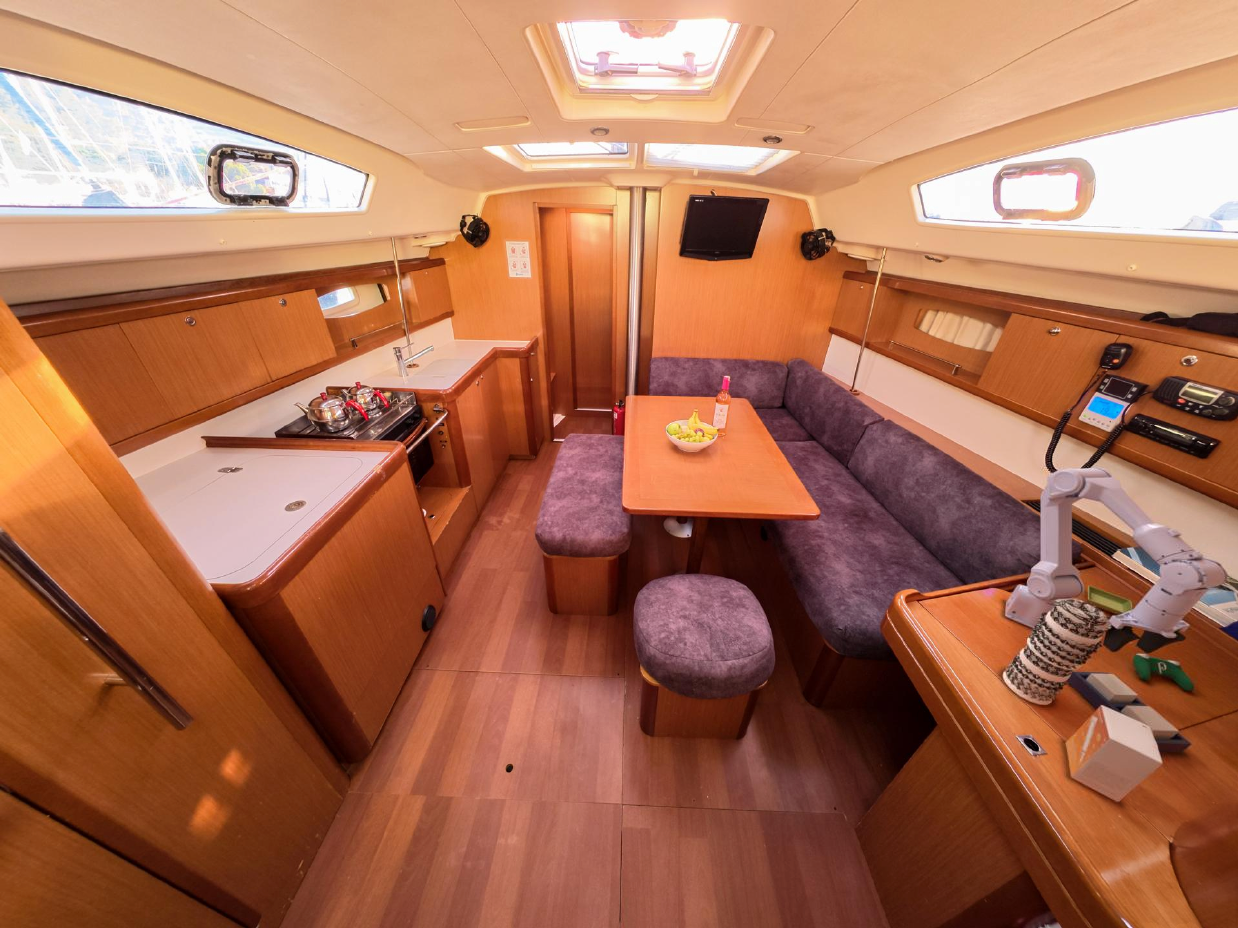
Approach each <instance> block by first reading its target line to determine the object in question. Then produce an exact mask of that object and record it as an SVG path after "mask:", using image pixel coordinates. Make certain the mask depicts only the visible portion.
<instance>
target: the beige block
mask: <svg viewBox="0 0 1238 928" xmlns="http://www.w3.org/2000/svg"><path fill="white" fill-rule="evenodd" d="M1121 713H1123V714H1124V715H1126V716H1128V717H1130V718H1132V719H1135V720H1137V721H1139V722H1141V723H1143V724H1145V725H1147V726H1150V728H1151V731H1152V733H1153V736H1154V739H1171V738H1172V737H1173V736H1174V735H1175V734H1177V733H1180V730H1179V729H1177V727H1175V726H1174V725H1173V724H1172V723H1171V722H1170V721H1168V720H1167V719H1166V718H1165V717H1164V716H1162V715H1161V714H1160V713H1159V712H1158V711H1156V710H1155V709H1154V708H1153V707H1151V706H1149V705H1147V706H1126V707H1125V708H1124V709H1123V710H1122V711H1121Z"/></svg>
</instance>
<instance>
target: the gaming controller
mask: <svg viewBox="0 0 1238 928" xmlns="http://www.w3.org/2000/svg"><path fill="white" fill-rule="evenodd" d="M1132 663H1133V667H1134V669H1135V671H1136V673H1137V674H1138V676H1139V677H1140V679H1141V680H1143V681H1149V680H1150V678H1151V674H1153V675H1154V674H1155V675H1158V676H1162V677H1166V678H1171V679H1172V680H1174V682H1175V683H1176V684H1178V686H1180V688H1182V689H1183V690H1185V691H1190V692H1193V691H1194V690H1195V685H1194V682H1193V681H1192V680H1191V678H1190V677H1189V675H1188V674H1187V673H1186V672H1185V670H1183V668H1182V666H1181V665H1180V664H1181V662H1179V661H1176V660H1170V659H1169V660H1166V659H1163V658H1159V657H1155V656H1152V655H1151V656H1150V655H1149V654H1146V653H1136V654H1134V656H1133V658H1132Z"/></svg>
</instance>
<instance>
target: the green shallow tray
mask: <svg viewBox="0 0 1238 928" xmlns="http://www.w3.org/2000/svg"><path fill="white" fill-rule="evenodd" d="M1087 601H1088V603H1090V604H1092V605H1094V606H1095V607H1097V608H1098V609H1100V610H1104V611H1106V612H1109V613H1111V614H1114V615H1116V616H1118V615H1121V614H1123V613H1126V612H1128V611H1131V610H1133V609H1134V608H1133V602H1132V600H1131V599H1127V598H1125V597H1122V596H1120V595H1117V594H1114V593H1111V592H1108V591H1106V590H1104V589H1101V588H1098V587H1095V586H1093V585H1087Z"/></svg>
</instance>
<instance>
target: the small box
mask: <svg viewBox="0 0 1238 928" xmlns="http://www.w3.org/2000/svg"><path fill="white" fill-rule="evenodd" d="M1065 747H1066V753H1067V759H1068V766H1069V773H1070V778H1071V779H1073V780H1075V781H1077V782H1078V783H1081V784H1083V785H1084V786H1086V787H1088V788H1090V789H1092V790H1094V791H1096V792H1098V793H1099V794H1101V795H1102V796H1105V797H1107V798H1109V799H1110V800H1113V801H1114V802H1117V803H1119V802H1120V801H1122V800H1123V799H1124V798H1125V797H1126V796H1127V795H1128V794H1130V793H1131V792H1132V791H1134V789H1135V788H1137V787H1138V786H1139V785H1140V784H1141V783H1143V782H1144V781H1145V780H1146V779H1147V778H1148V777H1149V776H1150V775H1151V774H1153V773H1154V772H1155V771H1156V770H1157V769H1158V768H1159V767H1161V766H1162V765H1163V764H1164V762H1163V759H1162V756H1161V752H1159V750H1158V746H1157V743H1156V741H1155V739H1154V736H1153V733H1152V731H1151V728H1150V726H1147V725H1145V724H1143V723H1141V722H1139V721H1137V720H1135V719H1132V718H1130V717H1128V716H1126V715H1123V714H1121V713H1119V712H1116V711H1114V710H1112V709H1110V708H1107V707H1105V706H1103V705H1100V707H1099V708H1098V709H1096V710H1094V712H1093V713H1092V714H1091V715H1090V716H1089V717H1088V718H1087V719H1086V720H1085V722H1084V723H1083V724H1082V725H1081V726H1080V727H1079V728H1078V729H1076V731H1075V732H1074V733H1073V734H1072V735H1071V736H1070V737H1069V738H1068V739H1067V741H1066V742H1065Z"/></svg>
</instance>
